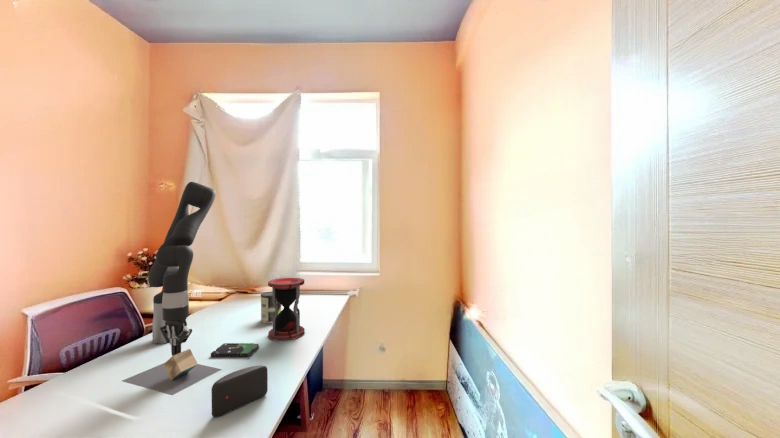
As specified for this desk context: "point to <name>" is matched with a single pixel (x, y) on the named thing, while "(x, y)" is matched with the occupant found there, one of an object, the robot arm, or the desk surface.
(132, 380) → the rubber mat
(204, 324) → the desk surface
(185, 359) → the oak cube
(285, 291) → the hourglass
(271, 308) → the coffee can
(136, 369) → the desk surface
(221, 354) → the disk drive
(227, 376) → the leaning round-cornered charcoal block
